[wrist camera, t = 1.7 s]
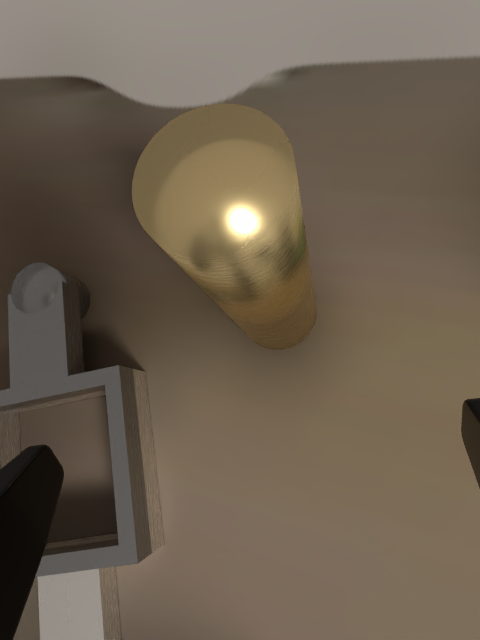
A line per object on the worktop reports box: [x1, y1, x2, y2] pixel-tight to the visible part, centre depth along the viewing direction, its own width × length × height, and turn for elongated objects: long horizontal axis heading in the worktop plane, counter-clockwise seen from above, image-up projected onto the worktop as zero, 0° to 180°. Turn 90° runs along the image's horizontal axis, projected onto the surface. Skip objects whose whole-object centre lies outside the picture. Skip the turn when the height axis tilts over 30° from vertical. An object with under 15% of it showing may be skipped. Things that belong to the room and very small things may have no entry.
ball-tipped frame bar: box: [0, 263, 164, 640], centre depth 21 cm, size 21×9×3 cm, turn 10°
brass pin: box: [132, 104, 316, 349], centre depth 16 cm, size 4×4×13 cm
